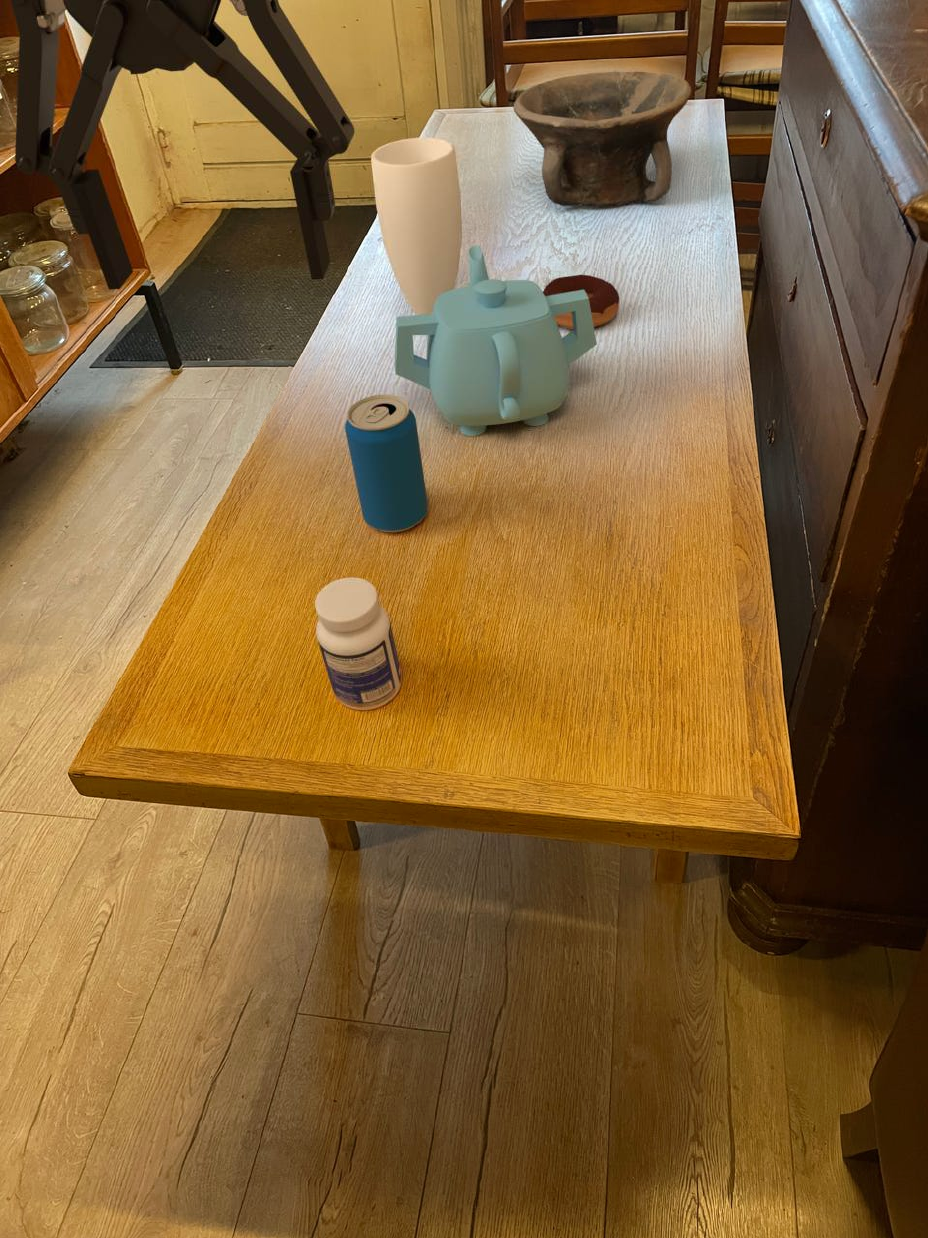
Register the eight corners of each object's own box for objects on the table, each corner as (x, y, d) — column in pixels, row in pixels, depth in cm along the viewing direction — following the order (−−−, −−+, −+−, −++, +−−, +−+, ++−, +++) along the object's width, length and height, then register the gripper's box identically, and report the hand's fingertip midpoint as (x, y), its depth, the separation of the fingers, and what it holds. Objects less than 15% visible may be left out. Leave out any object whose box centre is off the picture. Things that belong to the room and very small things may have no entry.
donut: (628, 327, 112) (629, 296, 109) (551, 339, 111) (551, 308, 108) (606, 293, 119) (607, 263, 116) (534, 304, 118) (533, 274, 115)
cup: (489, 327, 114) (477, 147, 99) (425, 357, 110) (402, 174, 95) (440, 303, 121) (422, 129, 106) (377, 330, 117) (349, 154, 101)
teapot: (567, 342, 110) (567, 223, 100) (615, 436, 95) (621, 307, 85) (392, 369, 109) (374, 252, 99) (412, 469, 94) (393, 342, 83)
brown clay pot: (527, 167, 156) (524, 69, 145) (682, 162, 151) (690, 61, 140) (507, 228, 137) (501, 121, 127) (683, 224, 132) (692, 113, 122)
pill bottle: (349, 654, 75) (327, 566, 68) (412, 666, 73) (396, 577, 66) (321, 706, 71) (294, 618, 64) (387, 719, 70) (367, 631, 63)
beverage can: (441, 507, 88) (427, 401, 80) (404, 544, 85) (386, 437, 76) (388, 490, 91) (370, 385, 83) (351, 526, 88) (327, 420, 79)
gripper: (364, -180, 45) (413, 242, 60) (-95, -133, 48) (62, 261, 62) (340, -168, 40) (400, 291, 55) (-175, -117, 42) (17, 309, 57)
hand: (220, 276), depth 59 cm, fingers open, 13 cm apart
